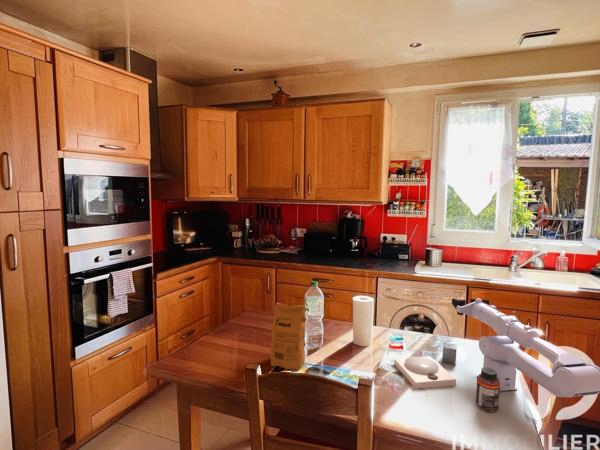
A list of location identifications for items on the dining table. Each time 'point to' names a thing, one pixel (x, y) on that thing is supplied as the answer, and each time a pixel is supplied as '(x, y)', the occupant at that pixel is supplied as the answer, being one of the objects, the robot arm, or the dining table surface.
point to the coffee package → (288, 337)
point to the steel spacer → (449, 353)
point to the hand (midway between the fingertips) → (461, 301)
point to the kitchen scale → (424, 372)
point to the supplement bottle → (488, 390)
